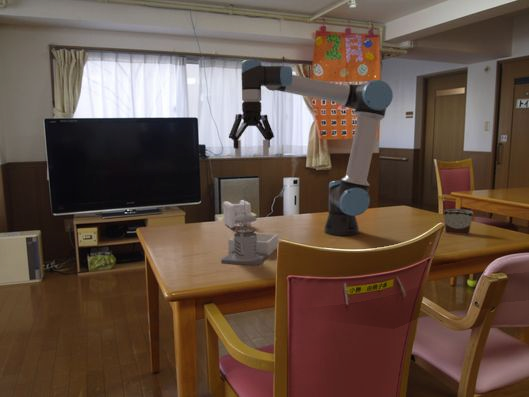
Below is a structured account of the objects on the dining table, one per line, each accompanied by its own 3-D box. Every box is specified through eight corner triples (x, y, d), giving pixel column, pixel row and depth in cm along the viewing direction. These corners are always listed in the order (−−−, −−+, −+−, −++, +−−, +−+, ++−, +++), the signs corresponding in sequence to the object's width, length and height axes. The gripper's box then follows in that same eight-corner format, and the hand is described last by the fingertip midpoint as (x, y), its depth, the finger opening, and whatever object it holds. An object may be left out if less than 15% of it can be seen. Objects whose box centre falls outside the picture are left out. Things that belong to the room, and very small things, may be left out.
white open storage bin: (278, 246, 166) (278, 234, 165) (268, 256, 153) (268, 242, 152) (241, 244, 170) (241, 231, 170) (228, 252, 158) (228, 239, 157)
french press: (237, 262, 142) (235, 188, 138) (226, 254, 152) (224, 184, 149) (264, 259, 146) (263, 186, 142) (251, 251, 156) (250, 183, 153)
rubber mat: (267, 256, 152) (267, 253, 152) (257, 265, 142) (257, 262, 142) (233, 253, 156) (233, 251, 156) (221, 262, 146) (221, 259, 146)
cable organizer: (252, 228, 200) (251, 203, 198) (230, 230, 196) (229, 205, 195) (243, 222, 214) (242, 199, 212) (222, 223, 210) (222, 200, 209)
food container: (472, 232, 188) (473, 209, 186) (472, 235, 182) (474, 212, 181) (442, 229, 193) (443, 207, 192) (441, 232, 188) (442, 210, 186)
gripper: (270, 103, 175) (271, 155, 179) (219, 101, 160) (220, 157, 164) (282, 102, 170) (282, 155, 173) (229, 99, 155) (231, 158, 158)
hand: (252, 156), depth 168 cm, fingers open, 13 cm apart
